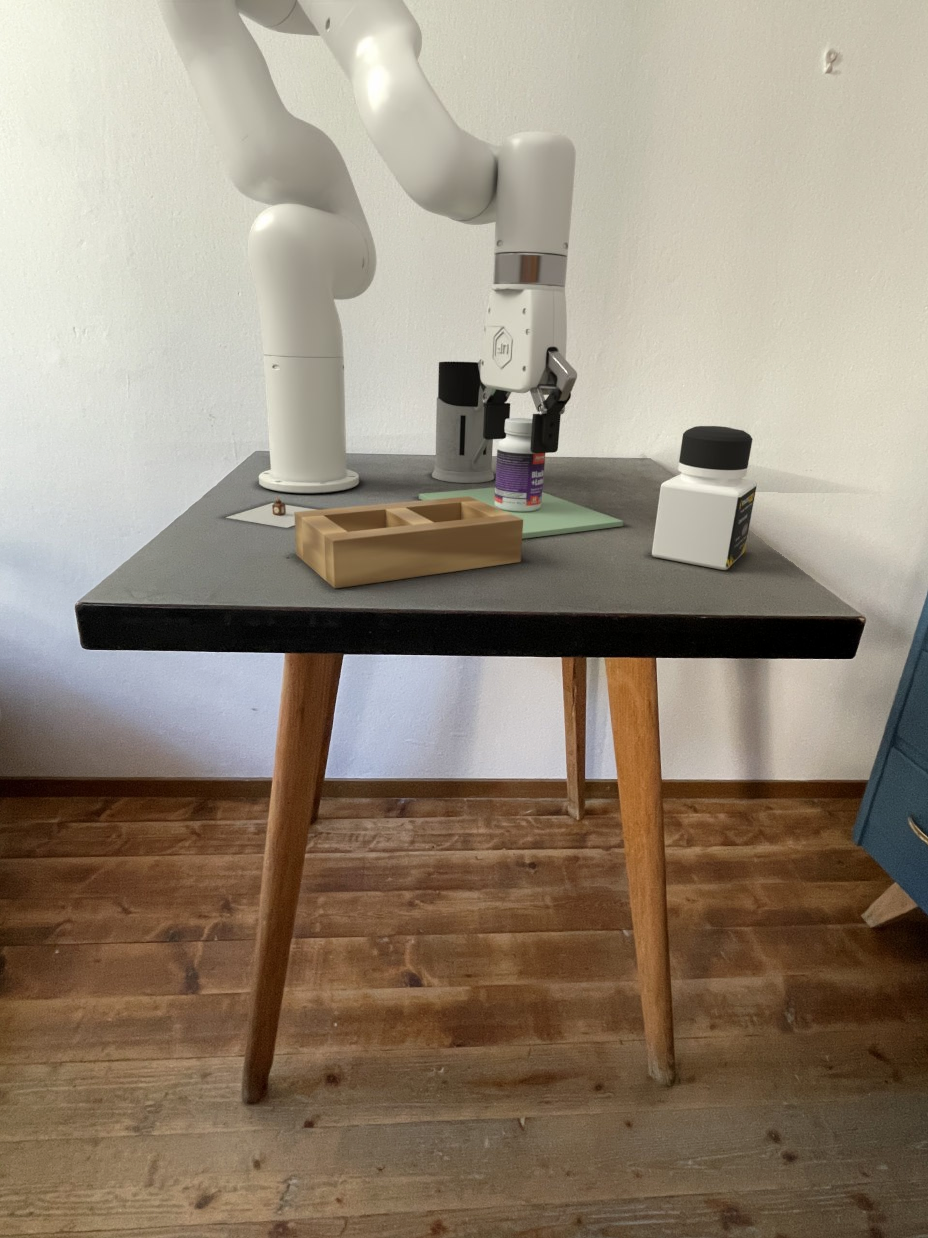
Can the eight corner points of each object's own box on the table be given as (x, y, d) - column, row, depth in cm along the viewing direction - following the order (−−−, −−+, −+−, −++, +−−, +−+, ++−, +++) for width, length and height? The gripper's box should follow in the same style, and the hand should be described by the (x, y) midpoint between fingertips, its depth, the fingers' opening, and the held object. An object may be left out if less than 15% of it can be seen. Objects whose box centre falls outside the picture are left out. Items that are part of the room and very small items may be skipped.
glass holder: (480, 469, 108) (485, 361, 103) (520, 489, 96) (528, 368, 91) (423, 471, 105) (425, 360, 100) (457, 492, 93) (461, 367, 88)
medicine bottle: (726, 571, 66) (750, 436, 62) (650, 557, 70) (667, 427, 65) (744, 553, 72) (768, 427, 68) (673, 540, 76) (690, 420, 71)
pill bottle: (538, 514, 82) (545, 424, 78) (490, 510, 82) (495, 421, 79) (543, 503, 86) (550, 418, 83) (498, 500, 87) (502, 415, 84)
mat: (418, 498, 89) (418, 493, 89) (521, 489, 96) (522, 484, 96) (507, 540, 73) (507, 535, 73) (623, 526, 80) (623, 520, 80)
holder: (296, 555, 67) (294, 511, 65) (467, 534, 75) (468, 496, 74) (334, 589, 59) (332, 540, 57) (520, 562, 67) (523, 519, 66)
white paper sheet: (331, 511, 82) (330, 495, 81) (286, 527, 75) (286, 509, 75) (272, 502, 85) (271, 486, 84) (225, 517, 78) (223, 500, 78)
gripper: (456, 276, 81) (452, 435, 87) (548, 270, 67) (534, 460, 73) (514, 280, 84) (505, 433, 91) (612, 276, 71) (594, 456, 77)
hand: (518, 445), depth 82 cm, fingers open, 9 cm apart
